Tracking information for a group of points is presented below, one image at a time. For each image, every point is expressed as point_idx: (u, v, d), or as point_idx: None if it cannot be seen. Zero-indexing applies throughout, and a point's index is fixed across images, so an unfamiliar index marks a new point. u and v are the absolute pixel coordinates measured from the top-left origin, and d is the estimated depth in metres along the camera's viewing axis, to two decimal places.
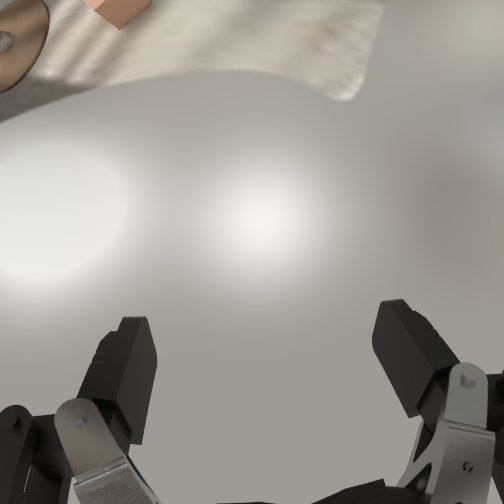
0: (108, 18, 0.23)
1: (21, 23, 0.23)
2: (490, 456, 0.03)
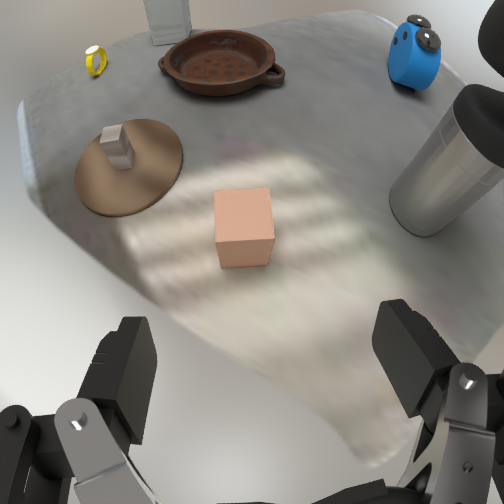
0: (221, 255, 0.30)
1: (150, 158, 0.38)
2: (489, 456, 0.03)
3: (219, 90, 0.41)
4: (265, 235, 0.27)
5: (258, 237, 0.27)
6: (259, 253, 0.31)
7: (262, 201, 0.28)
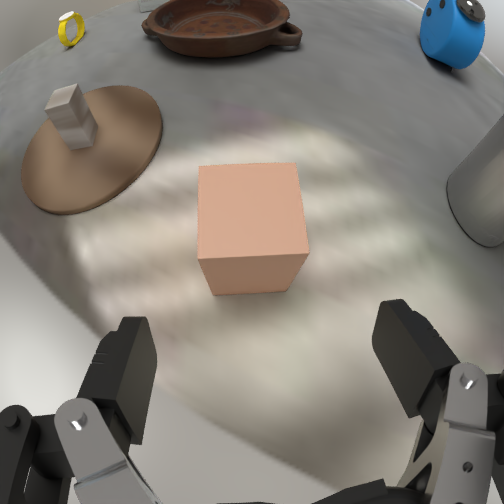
0: (210, 279, 0.17)
1: (117, 132, 0.25)
2: (490, 456, 0.03)
3: (216, 48, 0.28)
4: (292, 247, 0.14)
5: (279, 250, 0.14)
6: (276, 276, 0.18)
7: (285, 185, 0.16)
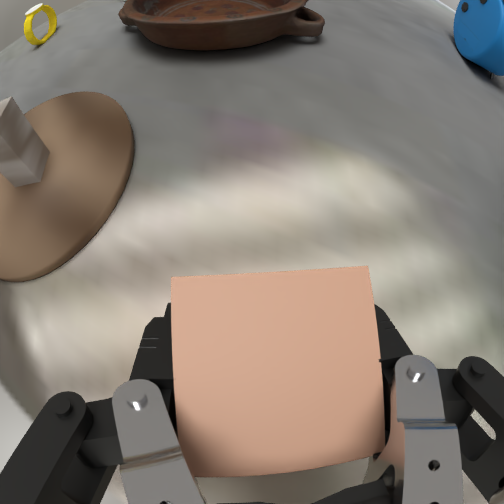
0: None
1: (72, 161, 0.17)
2: (455, 448, 0.04)
3: (212, 37, 0.20)
4: (357, 447, 0.06)
5: (334, 458, 0.06)
6: None
7: (350, 321, 0.07)
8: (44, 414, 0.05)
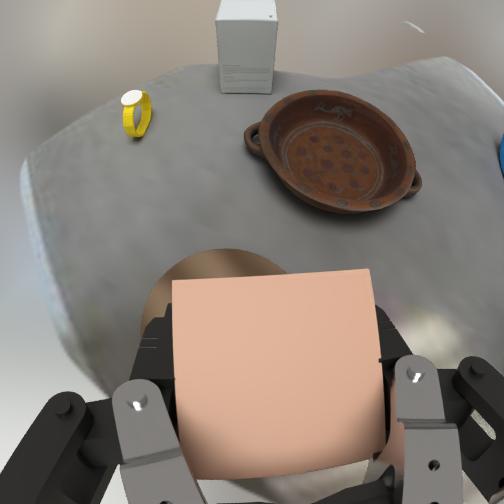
0: None
1: None
2: (455, 448, 0.04)
3: (351, 211, 0.30)
4: (358, 450, 0.06)
5: (335, 460, 0.06)
6: None
7: (351, 324, 0.07)
8: (44, 414, 0.05)
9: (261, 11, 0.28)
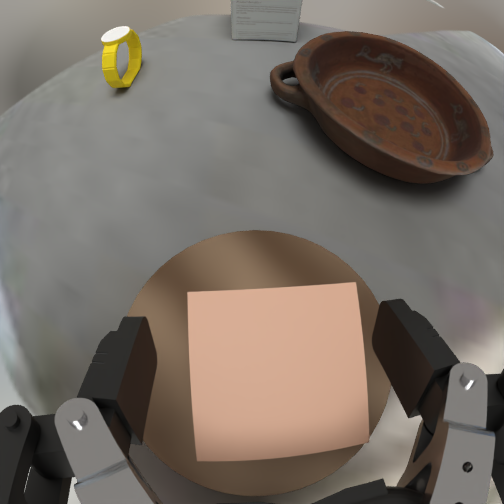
0: None
1: None
2: (490, 456, 0.03)
3: (429, 178, 0.19)
4: (345, 437, 0.08)
5: (325, 446, 0.07)
6: None
7: (339, 330, 0.09)
8: None
9: None
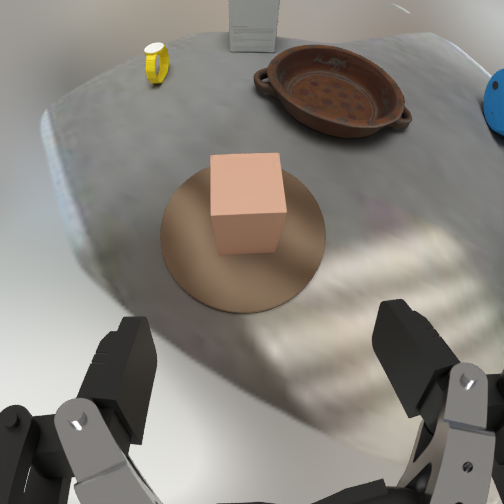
0: (218, 236, 0.24)
1: None
2: (489, 455, 0.03)
3: (351, 132, 0.33)
4: (275, 208, 0.21)
5: (266, 210, 0.21)
6: (265, 234, 0.24)
7: (270, 168, 0.22)
8: None
9: None
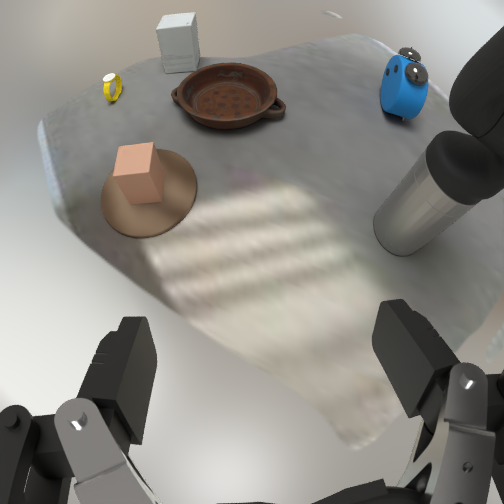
0: (123, 190, 0.40)
1: (169, 187, 0.46)
2: (489, 456, 0.03)
3: (227, 125, 0.49)
4: (143, 170, 0.37)
5: (138, 172, 0.37)
6: (147, 187, 0.41)
7: (146, 150, 0.39)
8: None
9: (183, 20, 0.47)
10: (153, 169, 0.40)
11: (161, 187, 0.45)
